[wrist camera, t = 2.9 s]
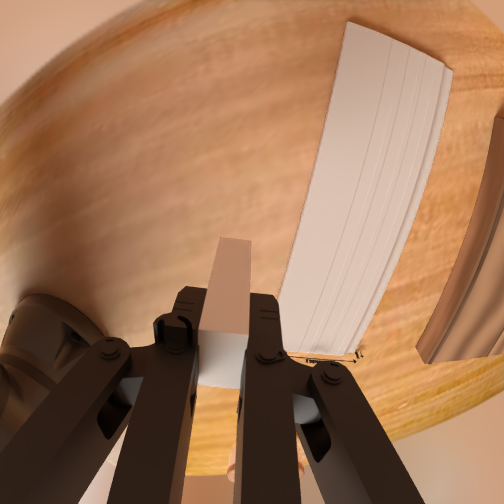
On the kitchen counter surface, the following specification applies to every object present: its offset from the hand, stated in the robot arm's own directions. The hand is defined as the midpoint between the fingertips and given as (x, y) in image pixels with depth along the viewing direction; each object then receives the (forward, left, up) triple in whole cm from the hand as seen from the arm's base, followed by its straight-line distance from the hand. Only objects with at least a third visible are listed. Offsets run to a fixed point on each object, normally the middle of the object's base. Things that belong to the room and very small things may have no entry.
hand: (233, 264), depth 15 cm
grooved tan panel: (+32, -1, -10) cm, 34 cm away
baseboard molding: (+11, 0, -11) cm, 16 cm away
